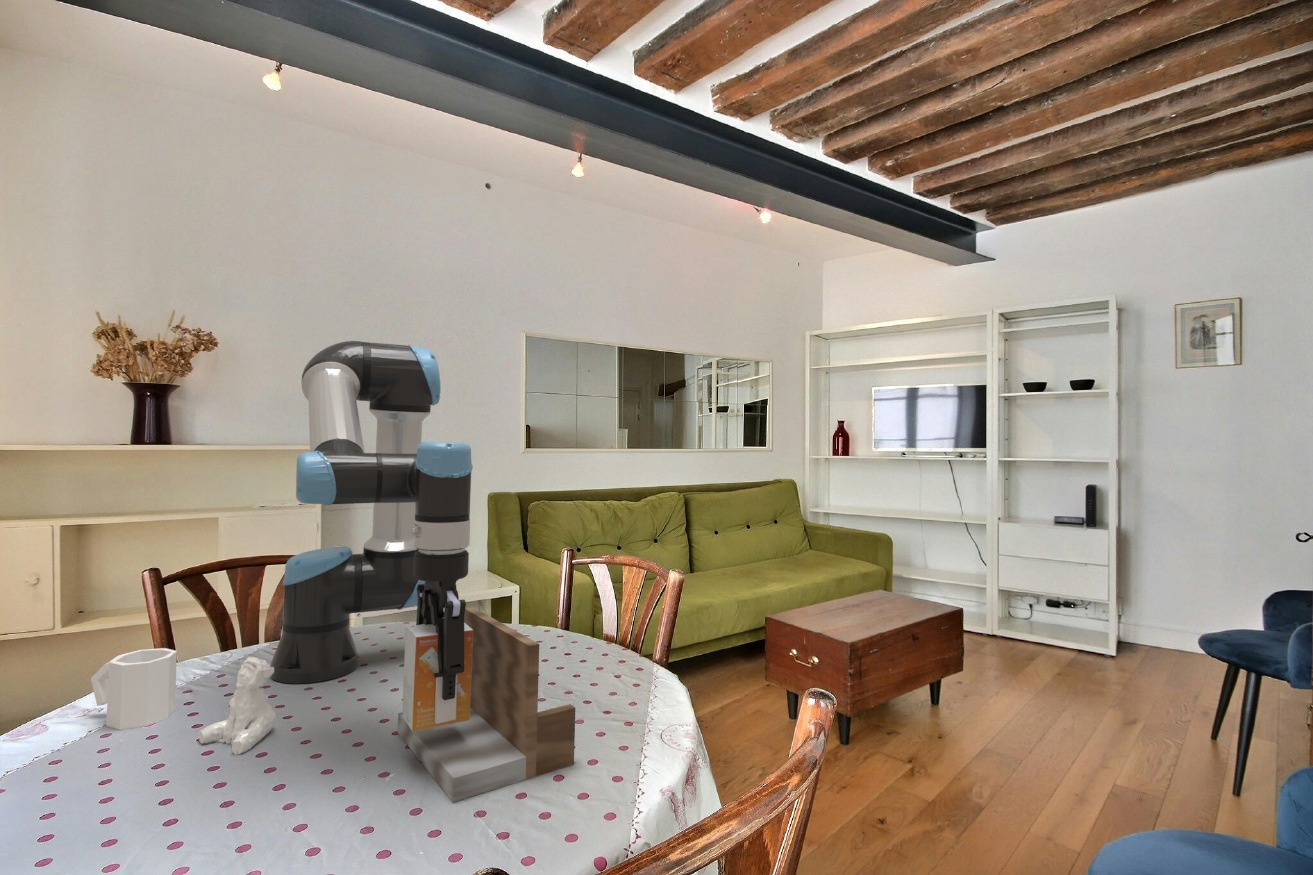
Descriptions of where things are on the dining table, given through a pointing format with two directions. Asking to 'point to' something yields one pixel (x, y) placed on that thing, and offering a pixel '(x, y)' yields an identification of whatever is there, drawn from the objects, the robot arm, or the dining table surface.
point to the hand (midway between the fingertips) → (436, 711)
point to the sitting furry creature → (245, 710)
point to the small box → (431, 677)
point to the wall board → (496, 720)
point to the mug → (137, 688)
